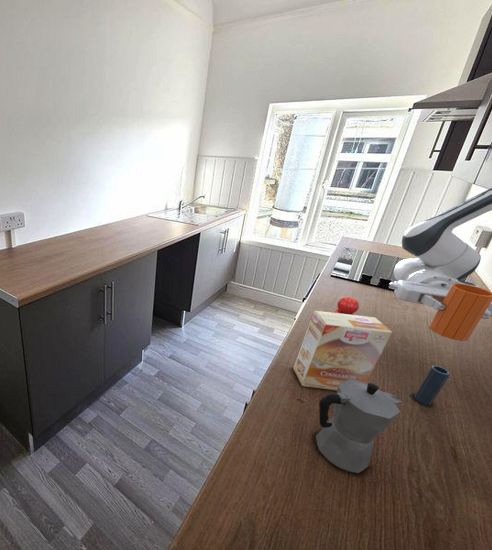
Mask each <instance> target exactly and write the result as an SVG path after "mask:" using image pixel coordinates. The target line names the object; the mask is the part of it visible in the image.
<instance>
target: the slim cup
mask: <svg viewBox="0 0 492 550" xmlns="http://www.w3.org/2000/svg"><path fill="white" fill-rule="evenodd" d="M450 375H451V372H450V371H449V370H448V369H446V368H444V367H443V366H440V365H436V364H434V365H431V366H430V368H429V370H428V372H427V373H426V375H425V377H424V378H423V380H422V381H421V383H420V385H419V386H418V388H417V390H416V392H415V394H414V396H413V398H414V399H415V401H417V403H420V404H422V405H424V406H431V405H432V404H433V403H434V401H435V400H436V398H437V396H438V394H439V393H440V391H441V390H442V388H443V387H444V385H445V384H446V382H447V380H448V379H449V377H450Z"/></svg>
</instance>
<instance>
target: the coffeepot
mask: <svg viewBox="0 0 492 550" xmlns="http://www.w3.org/2000/svg"><path fill="white" fill-rule="evenodd" d="M400 403H402V400H401V399H399V398H398V397H397V395H394V394H392V393H389V392H386V391H384V390H383V391H381V390H380V388H379V386H378V385H377V384H375V383H373V382H369V383H368V382H367V383H362V382H358V381H354V380H350V379H348V380H346V381H344V382H342V383H340V384H338V389H337V390H336V393H328V394H326V395H324V397H321V399H320V400H319V403H318V406H319V425H320V427H321V429H320V430H319V432H318V433H317V434H316V435H315V440H316V445H317V448H318V450H319V452H320V453H321V455H323V457H324V458H325V459H326V460H327V461H329V462H330V463H331V464H332V465H334V466H335V467H337V468H339V469H341V470H343V471H346V472H350V473H356V474H359V473H361V472H363V471H364V470H365V469H367V468H368V467H369V466H370V461H371V457H372V453H373V448H374V444H375V441H374V439H375V438H376V437H378V436H379V435H380V434H382V432H383V431H384V430H385V429H386V428H387V427H388V426H389V425H390V424H391V423H392V422H393V421H394V420H395V419H396V418H397V416H398V415H399V414H400V413H401V411H400V409H399V408H398V405H397V404H400ZM332 405H333V410H332V412H333V416H332V417H331V418H330V419H329V410H330V406H332Z"/></svg>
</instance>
